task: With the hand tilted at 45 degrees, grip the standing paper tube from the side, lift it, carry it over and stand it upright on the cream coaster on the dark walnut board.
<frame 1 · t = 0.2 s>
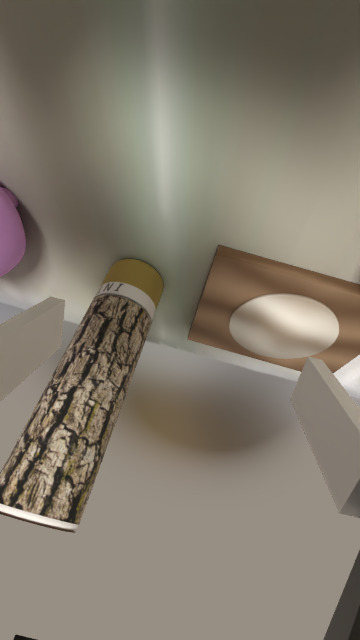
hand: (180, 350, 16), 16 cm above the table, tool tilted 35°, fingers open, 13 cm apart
walnut board: (281, 318, 36), on the table
paper tube: (138, 276, 36), on the table
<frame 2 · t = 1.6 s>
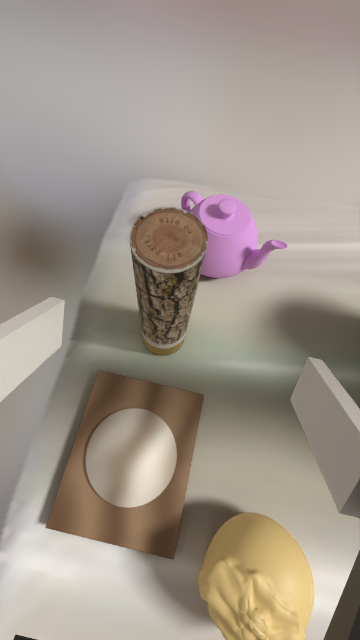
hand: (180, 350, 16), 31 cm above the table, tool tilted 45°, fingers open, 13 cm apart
teapot: (216, 257, 56), on the table
walnut board: (133, 454, 41), on the table
paper tube: (163, 337, 49), on the table
sculpture: (243, 562, 37), on the table
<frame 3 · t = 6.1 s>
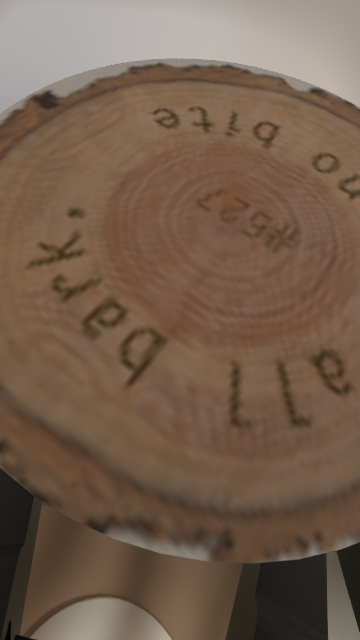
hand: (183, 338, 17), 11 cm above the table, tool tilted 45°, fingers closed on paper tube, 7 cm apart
paper tube: (162, 419, 27), on the table, touching gripper
when the fingers open (15 cm above the table, at t = 11.8 s): paper tube drops 1 cm, resting on walnut board.
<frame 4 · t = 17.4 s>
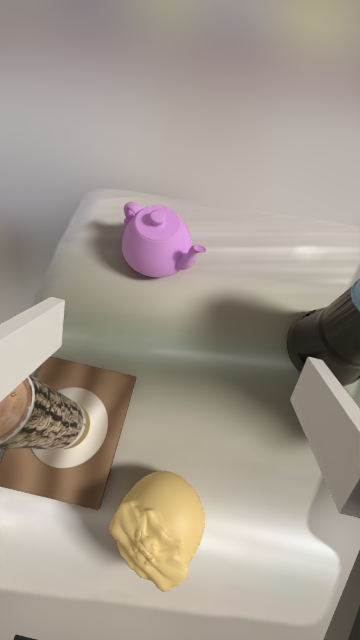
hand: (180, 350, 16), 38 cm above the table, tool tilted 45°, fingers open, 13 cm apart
teapot: (160, 259, 63), on the table
walnut board: (71, 426, 48), on the table
paper tube: (69, 426, 47), point 2 cm above the table, touching walnut board
sculpture: (159, 514, 45), on the table
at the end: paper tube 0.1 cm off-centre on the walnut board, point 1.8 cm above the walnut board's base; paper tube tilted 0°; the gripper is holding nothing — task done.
